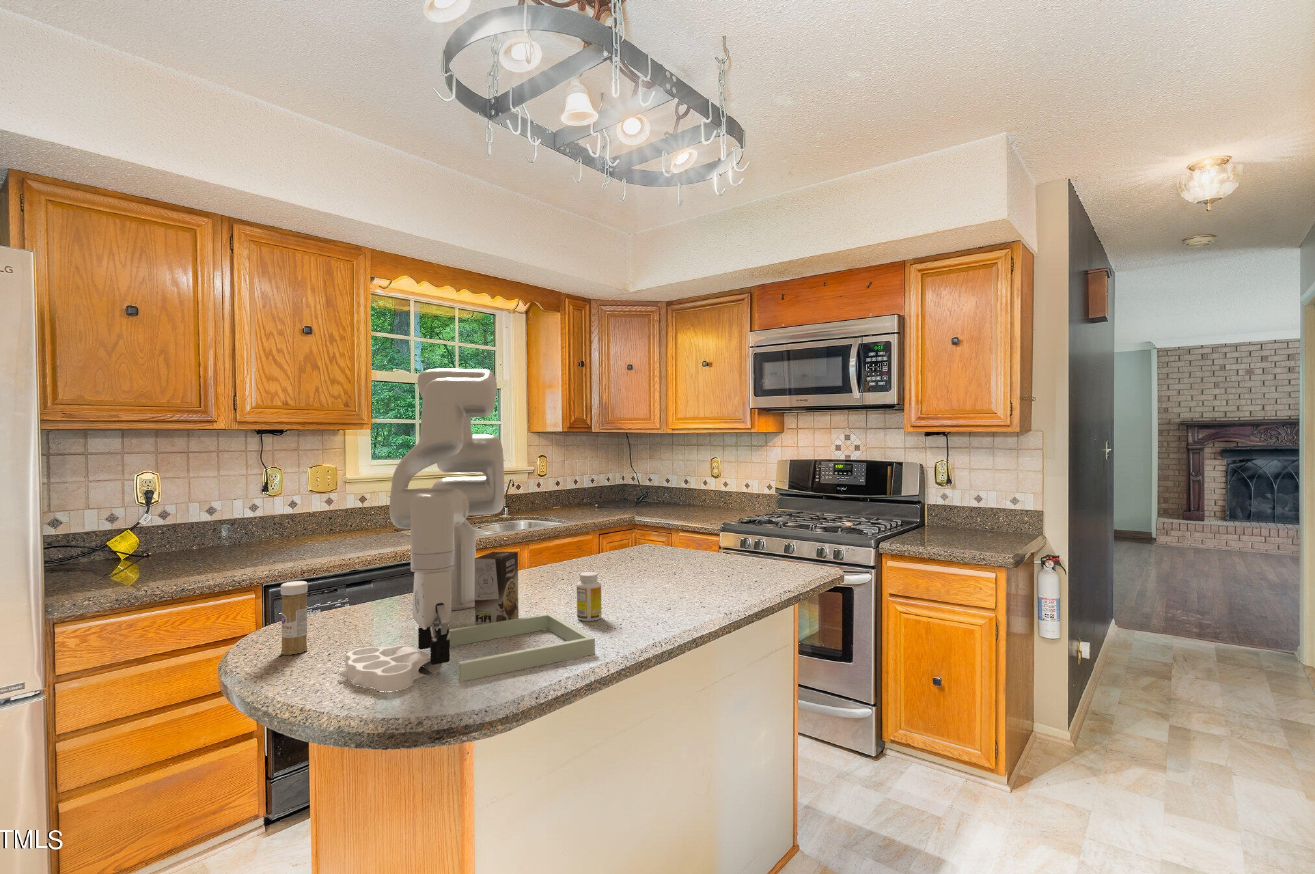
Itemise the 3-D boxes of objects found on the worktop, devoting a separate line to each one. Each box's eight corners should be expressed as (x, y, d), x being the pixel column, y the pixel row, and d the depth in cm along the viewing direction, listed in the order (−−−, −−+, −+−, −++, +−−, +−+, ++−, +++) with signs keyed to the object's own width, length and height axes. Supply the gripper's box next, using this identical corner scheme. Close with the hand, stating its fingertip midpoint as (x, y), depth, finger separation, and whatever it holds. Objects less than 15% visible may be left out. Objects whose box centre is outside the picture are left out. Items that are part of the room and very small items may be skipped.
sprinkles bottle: (275, 654, 125) (275, 584, 125) (296, 647, 129) (296, 579, 129) (292, 657, 123) (292, 586, 123) (313, 649, 127) (312, 581, 127)
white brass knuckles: (451, 678, 113) (364, 703, 102) (406, 655, 125) (325, 675, 115) (451, 659, 113) (364, 682, 102) (405, 637, 125) (324, 656, 115)
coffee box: (502, 636, 135) (501, 558, 135) (473, 634, 136) (472, 557, 136) (520, 623, 144) (519, 551, 144) (493, 622, 145) (492, 550, 145)
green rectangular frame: (431, 647, 128) (431, 632, 128) (551, 626, 141) (551, 613, 141) (460, 681, 110) (460, 664, 110) (594, 654, 123) (594, 638, 123)
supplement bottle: (602, 615, 150) (602, 571, 150) (600, 622, 144) (599, 576, 144) (578, 615, 150) (578, 571, 150) (575, 622, 145) (574, 576, 145)
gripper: (401, 556, 123) (402, 646, 123) (421, 571, 108) (422, 674, 108) (442, 552, 127) (443, 639, 127) (466, 566, 112) (467, 665, 112)
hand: (433, 655), depth 117 cm, fingers open, 9 cm apart
